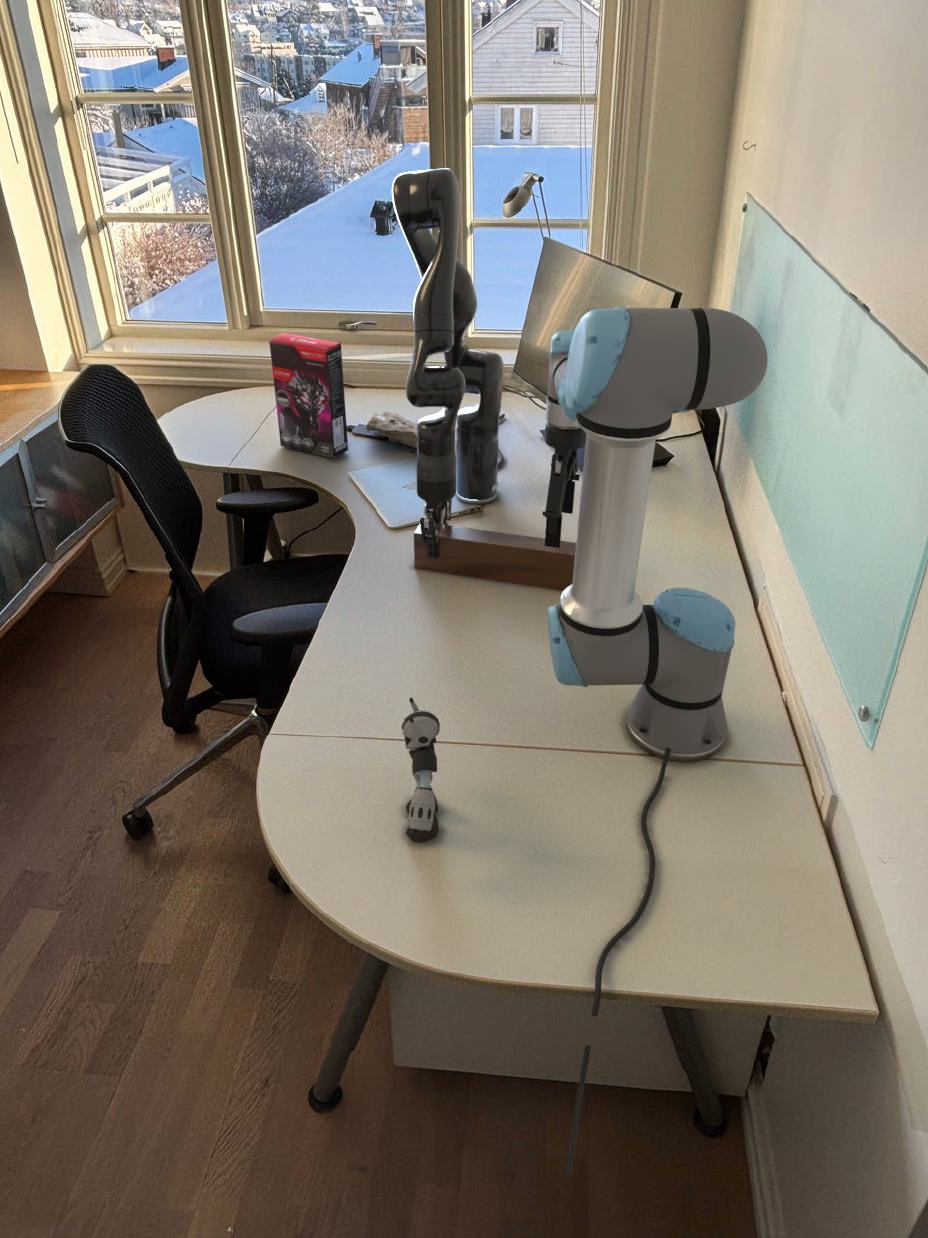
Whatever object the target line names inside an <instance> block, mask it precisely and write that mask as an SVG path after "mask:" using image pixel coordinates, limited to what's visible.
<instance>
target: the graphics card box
mask: <svg viewBox="0 0 928 1238" xmlns="http://www.w3.org/2000/svg"><path fill="white" fill-rule="evenodd" d="M268 343H269V351H270V359H271V360H270V361H271V368H272V377H273V387H274V396H275V406H276V415H277V423H278V434H279V442H280V443H279V444H280V447H283V448H288V449H292V450H296V451H301V452H304V453H310V454H313V455H317V456H322V457H326V458H329V459H330V458H331V459H336V458H338V457H339V456H341V455H342V454H345V453H346V452H347V451H349V443H348V442H349V441H348V427H347V426H348V425H347V413H346V398H345V384H344V382H345V381H344V370H343V369H344V368H343V355H342V343H341V341H329V340H324V339H320V338H314V337H309V336H304V335H298V334H293V333H288V332H282V333H280V334H277V335H276V336H274V337H273V338H271V339H270V340H269V341H268Z"/></svg>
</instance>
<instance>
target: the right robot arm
mask: <svg viewBox="0 0 928 1238" xmlns="http://www.w3.org/2000/svg"><path fill="white" fill-rule="evenodd" d="M550 340H551V341H550V349H549V352H548V355H549V364H548V365H549V366H548V368H549V369H548V385H547V387H548V388H547V396H546V407H545V420H546V422H545V427H544V428H545V429H544V442H545V444H546V445H547V446H548V447H550V448H553V449H554V453H553V454H552V456H551V463H550V475H549V476H550V477H549V484H548V490H547V496H546V505H545V510H544V511H542V513H541V514H542V516H544V518H546V521H545V534H544V538H545V546H548V547H555V548H559V547H560V541H561V539H562V528H563V527H562V525H563V514H571V515H573V512H574V502H575V501H574V500H575V489H576V481H577V482H579V481H580V477H581V475H580V474H577V473H578V471H579V468H578V466H579V465H578V461H579V459H578V458H579V457H578V450H580V449H582V448H584V457H583V466H582V467H583V469H582V477H581V479H582V480H581V490H580V500H579V508H578V509H579V511H578V519H577V520H578V522H577V531H576V541H575V543H576V551H575V562H574V572H573V583H572V585H570V586H569V587H567V588H566V589H565V590H562V592H561V595H560V597H559V605H558V604H554V605H550V606H549V607H548V608H547V612H546V616H547V617H546V618H547V630H548V640H549V646H550V647H549V648H550V655H551V662H552V668H553V673H554V676H555V678H556V680H557V681H558V682H559V683H560V684H562V685H564V686H577V687H579V686H580V687H584V688H588V686H589V687H590V686H637V685H638V686H640V688H639V689H638V691H637V692H636V694H635V695H634V697H633V699H632V701H631V702H630V704H629V706H628V708H627V711H626V719H625V728H626V732H627V734H628V736H629V738H630V739H631V741H632V742H634V744H636V745H637V746H638V747H639V748H640V749H641V750H643V751H645V752H646V753H648V754H650V755H651V756H654V757H656V758H659V759H662V761H661V767H660V770H659V775H658V777H657V778H658V779H657V781H656V784H655V785H654V788H653V790H652V792H651V793H650V794H649V797H648V798H647V800H646V802H645V803H644V806H643V809H642V812H641V817H640V826H641V832H642V836H643V839H644V842H645V845H646V849H647V853H648V858H649V870H648V879H647V884H646V889H645V892H644V894H643V897H642V900H641V902H640V904H639V906H638V908H637V910H636V912H635V913H634V915H633V916H632V918H630V920H629V921H628V922H627V923H626V924H625V925H624V926H623V927H622V928H621V929H620V930H619V931H618V932H616V934H615V935H613V936H612V938H610V940H609V941H608V942H607V943H606V945H605V946H604V948H603V949H602V951H601V954H600V956H599V958H598V961H597V965H596V969H595V980H594V981H595V982H594V995H593V1002H592V1008H591V1015H592V1016H593V1017H598V1015H599V1009H600V1004H601V996H602V982H603V969H604V965H605V962H606V959H607V958H608V955H609V953H610V952H611V950H612V949H613V947H614V946H615V945H617V943H618V942H619V941H620V940H621V939H622V938H623V937H624V936H625V935H626V934H627V933H629V932H630V930H631V929H632V928H634V926H635V925H636V924H637V922H638V921H639V920H640V918H641V917H642V915H643V913H644V911H645V908H646V907H647V905H648V902H649V900H650V897H651V895H652V894H651V893H652V891H653V887H654V883H655V874H656V856H655V851H654V847H653V845H652V844H653V843H652V841H651V838H650V835H649V831H648V826H647V818H648V812H649V809H650V807H651V805H652V803H653V801H654V800H655V798H656V797H657V795H658V793H659V791H660V789H661V787H662V784H663V781H664V778H665V774H666V770H667V765H668V762H669V761H670V762H675V763H694V762H700V761H703V760H706V759H709V758H711V757H714V755H716V754H718V752H720V751H721V750H722V748H723V747H724V744H725V743H726V740H727V739H726V738H727V733H728V721H727V716H726V712H725V708H724V707H725V706H724V701H723V692H724V686H725V682H726V678H727V672H728V668H729V664H730V659H731V654H732V651H733V649H734V646H735V631H736V620H735V617H734V614H733V612H732V611H731V609H730V608H729V607H728V606H727V605H726V604H725V603H724V602H723V601H721V600H720V599H718V598H716V597H715V596H713V595H711V594H709V593H706V592H704V591H701V590H698V589H695V588H689V587H688V588H687V587H672V588H670V587H669V588H667V589H665V590H663V591H660V592H659V593H658V595H657V596H656V597H655V599H654V600H653V604H644V603H643V600H642V598H641V596H640V595H639V594H638V592H636V591H635V588H636V582H637V576H638V575H637V574H638V567H639V560H640V553H641V547H642V539H643V533H644V527H645V526H644V525H645V520H646V519H645V518H646V511H647V504H648V497H649V490H650V484H651V475H652V468H653V463H654V462H653V461H654V455H655V448H656V442H657V441H656V440H658V439H660V438H661V437H662V436H664V435H665V434H667V432H669V430H670V429H671V425H672V420H673V415H674V414H678V413H688V412H690V411H694V410H712V409H718V408H723V407H727V406H730V405H735V404H736V403H740V402H742V401H743V400H745V399H746V398H748V397H750V396H751V395H752V394H753V393H754V392H755V391H756V390H757V389H758V387H759V386H761V383H762V381H763V380H764V379H765V375H766V372H767V369H768V363H769V362H768V361H769V360H768V351H767V346H766V344H765V341H764V339H763V337H762V335H761V334H760V332H759V331H758V330H757V328H756V327H755V326H754V325H752V324H751V323H750V322H749V321H747V320H746V319H745V318H743V317H741V316H739V315H738V314H736V313H734V312H731V311H727V310H724V309H721V308H720V309H719V308H714V307H696V308H695V307H694V308H693V307H692V308H690V307H671V308H670V307H666V308H665V307H664V308H663V307H659V308H657V307H626V306H618V307H615V308H602V309H599V308H598V309H593V310H590V311H588V312H586V313H585V314H584V315H583V316H582V317H581V318H580V319H579V321H578V323H577V325H576V327H575V329H564V330H560V331H557V332H556V333H554V335H553V336H552V337H551V339H550ZM583 1050H584V1051H583V1054H582V1061H581V1067H580V1073H579V1079H578V1086H577V1092H576V1098H575V1104H574V1105H575V1106H574V1112H573V1120H572V1127H571V1133H570V1142H569V1150H568V1157H567V1163H566V1171H565V1174H566V1175H567V1176H569V1177H570V1176H572V1174H573V1173H572V1172H573V1167H574V1159H575V1153H576V1147H577V1146H576V1145H577V1138H578V1131H579V1126H580V1125H579V1124H580V1117H581V1112H582V1105H583V1098H584V1093H585V1092H584V1091H585V1085H586V1080H587V1073H588V1067H589V1062H590V1055H591V1051H592V1046H590V1045H586V1044H584V1049H583Z"/></svg>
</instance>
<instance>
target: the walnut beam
mask: <svg viewBox="0 0 928 1238" xmlns="http://www.w3.org/2000/svg"><path fill="white" fill-rule="evenodd" d="M438 525H439V524H435V526H438ZM435 533H436V531H435ZM575 551H576V542H574V541H567V540H566V541H565V540H560V547H559V548H555V547H548V546H545V537H537V536H531V535H530V536H529V535H522V534H516V533H507V532H501V531H493V530H485V529H478V528H472V527H465V526H457V525H451V524H449V525H443V527H442V530H440V532H439V556H438V558H437V559H434V558H428V557H427V543H424V542H422V534H421V525H420V523H419V524H418V525H417V527H416V529H415V530H414V532H413V558H414V560H413V563H414V564H413V565H414V569H416V570H417V569H418V570H424V571H428V572H429V571H430V572H437V573H442V574H443V573H444V574H451V575H456V576H463V577H469V578H470V577H471V578H477V579H483V580H490V581H496V582H502V583H503V582H504V583H510V584H511V583H512V584H516V585H517V584H518V585H523V586H524V585H525V586H531V587H537V588H542V589H543V588H545V589H550V590H557V591H558V590H559V591H564V590H565V589H566V588H567V587H569V586H570V585H572V583H573V572H574V562H575Z"/></svg>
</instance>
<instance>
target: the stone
mask: <svg viewBox="0 0 928 1238" xmlns="http://www.w3.org/2000/svg"><path fill="white" fill-rule="evenodd" d="M417 424H418V423H415V422H413V421H411V420H410V419H409V420H408V419H406V418H405V417H403V416H401V415H399V414H398V413H394V412H389V411H385V412H382V413H374V414H373V415H372V416H371V418H369V419H368V422H367V424H366V427H365V428H366V430H367V431H368V432H370V431H376V432H378V434H379V435H381V436H383V437H387V438H388V440H389V441H390V442H392V443H398V442H399V443H400V444H403V445H405V446H410V447H412V448H414V449H415V448H416V449H417Z"/></svg>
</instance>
